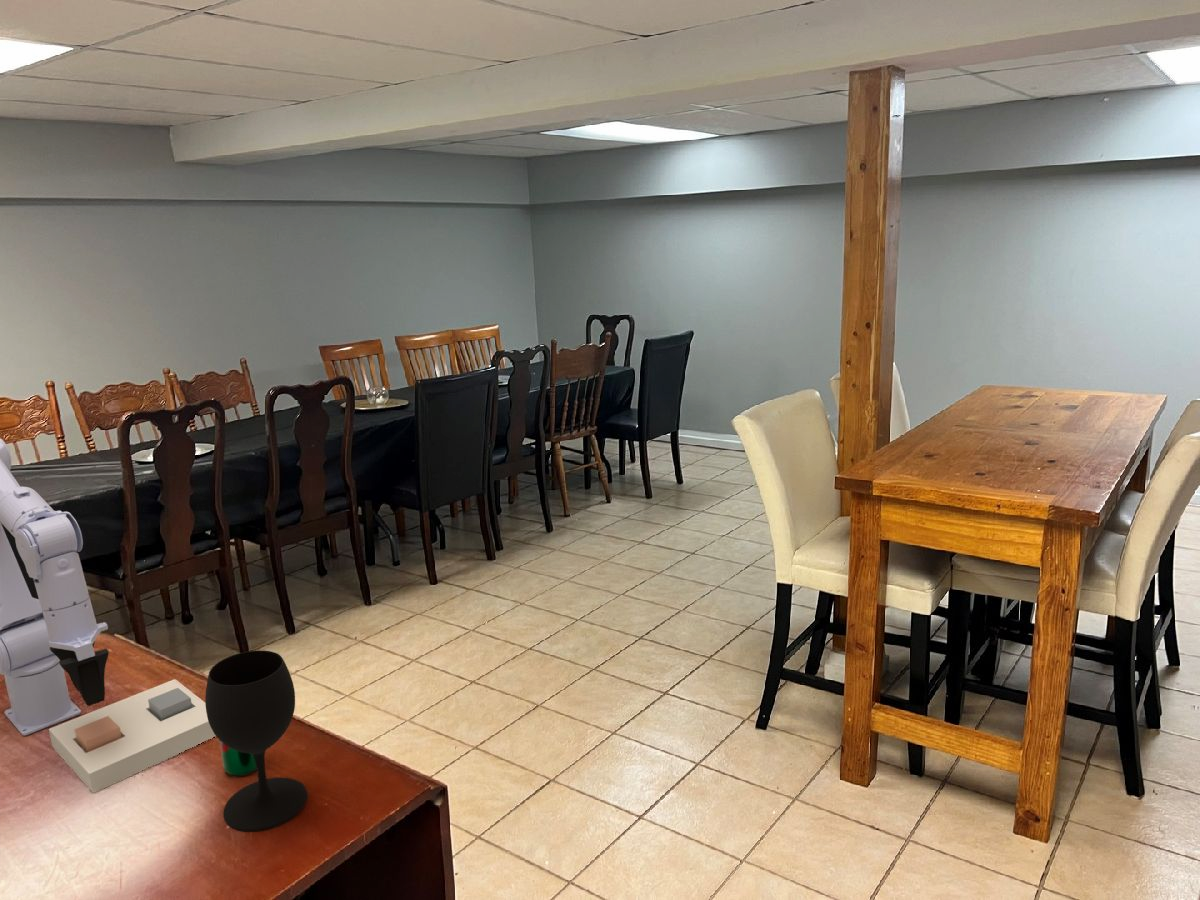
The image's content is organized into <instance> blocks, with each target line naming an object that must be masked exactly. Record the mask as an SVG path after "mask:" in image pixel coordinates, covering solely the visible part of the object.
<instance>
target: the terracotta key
mask: <svg viewBox="0 0 1200 900" xmlns="http://www.w3.org/2000/svg"><path fill="white" fill-rule="evenodd" d="M75 734H76V738H77V742H78V743H79V744H80V745H81V746H82V747H83V748H84V750H85V751H86V752H90V751H92V750H95V749H97V748H99V747H102V746H104V745H106V744H109V743H111V742H113V741H116V740H118V739H120V738H122V736H121V731H120V727H119V726H118V725H117V724H116V723H115V722H114V721H113V720H112V719H111V718H110V717H109V716H107V717H104V718H102V719H99V720H97V721H94V722H92V723H89V724H87V725H84V726H82V727H79V728H77V729H75Z"/></svg>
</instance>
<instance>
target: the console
mask: <svg viewBox="0 0 1200 900" xmlns="http://www.w3.org/2000/svg"><path fill="white" fill-rule="evenodd" d="M176 688H179V689H180V690H181V691H183V692H184V693H185V694H186V695H188V696H189V697H190V698H191V704H192V708H191V709H189V710H186V711H184V712H182V713H179V714H177V715H175V716H172V717H170V718H167V719H165V720H163V721H160V720H159V719H158V718H157V717H156V716H155V715H153V714H152V713H151V712H150V708H149V702H148V700H149V699H151V698H154V697H156V696H159V695H161V694H164V693H166V692H169V691H171V690H173V689H176ZM107 716H109V717H110V718H111V719H112V720H113V721H114V722H115V723H116V724H117V725H118V726H119V727H120V731H121V736H122V738H120V739H118V740H116V741H113V742H111V743H109V744H106V745H104V746H102V747H99V748H97V749H95V750H92V751H90V752H86V751H85V750H84V748H83V747H82V746H81V745H80V744H79V743H78V742H77V738H76V734H75V729H77V728H79V727H82V726H84V725H87V724H89V723H92V722H94V721H97V720H99V719H102V718H104V717H107ZM48 732H49V733H48V734H49V737H50V741H51V747H52V749H54V751H55V752H56V753H57V754H58V755H59V756H60V757H61V759H62V760H63V759H64V760H65V761H64V762H65V763H66V764H67V765H68V766H69V767H71V768H70V769H71V770H72V769H73V770H72V771H73V772H74V773H75V775H76V776H77V777H78V778H79V779H80V780H81V781H82V782H83V784H84V785H85V786H86V787H87V788H88V790H89V791H90V792H91V793H92V794H94V793H98V792H99V791H101V790H103V789H106V788H107V787H110V786H113V785H115V784H117V783H119V782H121V781H123V780H125V779H127V778H130V777H132V776H134V775H136V774H139V773H140V772H142V770H143V771H145V770H148V769H149V768H148V767H150V768H152V767H154V766H156V765H158V764H160V763H163V762H165V761H167V760H169V759H171V758H173V756H174V757H176V756H178V755H180V754H182V753H185V752H186V751H185V750H187V749H189V748H191V749H193V748H195V747H197V746H196V745H198V744H200V745H201V743H202V742H204V741H206V740H208V739H211V738H213V737H214V736H216V735H215V734H214V732H213V730H212V729H211V727H210V724H209V721H208V718H207V713H206V704H205V701H204V700H202V699H201V698H200V697H199V696H197V694H195V693H194V692H192V691H191V690H190V689H188V688H187V687H186V686H184V684H182V683H181V682H179V680H177V679H176V678H174V679H172V680H170V681H167V682H164V683H161V684H159V685H156V686H154V687H151V688H149V689H146V690H143V691H141V692H138V693H137V694H134V695H132V696H129V697H128V696H127V697H126V698H124V699H121V700H118V701H116V702H114V703H111V704H109V705H106V706H103V707H101V708H98V709H96V710H93V711H91V712H88V713H86V714H83V715H81V716H78V717H75V718H73V719H71V720H68V721H65V722H63V723H60V724H57V725H55V726H51V728H49V729H48ZM213 739H214V738H213ZM211 740H212V739H211ZM206 742H207V741H206ZM204 743H205V742H204ZM202 744H203V743H202ZM194 746H195V747H194ZM198 746H199V745H198ZM192 747H193V748H192ZM189 750H190V749H189ZM184 751H185V752H184ZM187 751H188V750H187ZM181 752H182V753H181ZM179 753H180V754H179ZM168 758H169V759H168ZM162 761H163V762H162ZM153 765H154V766H153ZM138 772H139V773H138Z"/></svg>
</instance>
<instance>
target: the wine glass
mask: <svg viewBox="0 0 1200 900" xmlns="http://www.w3.org/2000/svg"><path fill="white" fill-rule="evenodd" d="M206 681H207V682H206V687H205V698H204V699H205V701H204V702H205V704H206V713H207V718H208V721H209V724H210V727H211V729H212V730H213V732H214V734H215V735H216V737H215V738H217V739H218V740H220V741H221V742H222V743H224V744H225V745H226V746H228V747H230V748H232V749H234V750H237V751H240V752H243V753H249V754H252V755H253V757H254V760H255V764H256V768H257V769H256V772H257V779H258V780H257V781H255V782H252V783H250V784H248V785H245V786H244V787H242V788H241V789H239V790H238V791H236V792H235V793H234V794H233V795H232V796H231V797H230V798H228V800H227V801H226V804H225V805H224V807H223V812H222V813H223V814H222V815H223V820H224V822H225V824H226V825H228V826H229V827H230V828H232V830H236V831H240V832H241V831H242V832H248V833H249V832H250V833H253V832H261V831H267V830H270V829H274V828H276V827H279V826H282V825H283V824H285V823H287V822H289V821H290V820H292V819H293V818H294V817H296V816H297V815H298V814H299V813H300V812H301V811H302V810H303V808H304V807H305V805H306V803H307V801H308V790H307V788H306V786H305V785H304V784H303V783H302V782H301V781H299V780H297V779H294V778H291V777H283V776H281V777H279V776H278V777H270V778H267V772H266V764H265V758H266V757H265V755H266V751H267V750H268V749H270V748H271V747H272V746H273V745H275V744H276V743H277V742H278V741H280V739H281V737H283V735H284V734H285V733H286V732H287V729H288V728H289V726H290V724H291V722H292V720H293V717H294V714H295V709H296V692H295V691H296V690H295V687H294V683H293V678H292V675H291V673H290V670H289V668H288V666H287V663H286V662H285V660H284V658H283V657H282V655H280V654H279V653H277V652H274V651H272V650H271V651H270V650H261V649H260V650H258V649H257V650H249V651H243V652H239V653H236V654H233V655H230V656H227V657H226V658H224V659H222V660H219V661H218V662H217V663H216V664H214V665H213V666H212V667H211V668H210V670H209V672H208V677H207V680H206ZM220 741H219V742H220Z"/></svg>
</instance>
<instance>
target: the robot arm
mask: <svg viewBox="0 0 1200 900" xmlns="http://www.w3.org/2000/svg"><path fill="white" fill-rule="evenodd" d="M9 450H10V449H9V447H8V445H7V443H6V442H5V441H4V440H3V439H2V438H1V437H0V675H2V676H4V682H5V686H6V690H7V695H8V699H9V702H10V703H9V704H10V708H8V709H5V711H4V712H3V713H4V715H5V716H6V718H7V719H8V720H9V721H10V722H11V723H12V724H13V725H14V727H15V729H16V730H17V731H18V732H19V733H20V734H21V735H22V736H28V735H30V734H33V733H35V732H38V731H41V730H43V729H47V728H48V727H52V726H53V725H56V724H59V723H61V722H63V721H66V720H68V719H71V718H74V717H76V716H79V715H81V713H82V710H81V709H80V708H79V707H78V706H77V705H76V704H75V702H73V701H72V700H71V698H70V693H69V689H68V684H67V680H66V674H65V672H66V673H67V674H68V676H69V679H70V680H71V682H72V685H73V686H74V688H75V689H76V690H77V692H79V694H80V696H81V697H82V700H83V701H84V702H85V704H86V706H87V707H90V706H93V705H95V704H98V703H101V702H104V701H105V700H106V699H105V698H106V697H105V696H106V687H105V685H106V682H105V671H106V665H107V661H108V659H109V655H110V654H109V653H110V652H109V650H108V648H103V649H101V650H100V649H99V650H96V651H95V649H94V647H95V643H96V639H97V638H98V637H99V634H101V632H105V631H107V630H108V629H109V625H108V624H107V622H99V623H98V622H97V620H96V616H95V613H94V608H93V605H92V602H91V601H92V600H91V597H90V594H89V589H88V586H87V582H86V578H85V574H84V571H83V566H82V563H81V559H80V555H79V552H81V551H82V549H83V545H84V540H83V534H82V531H81V528H80V525H79V524H78V522H77V520H76V519H75V517H74V516H73V514H71V512H69V511H61V510H54V509H53V508H52V507H51V506H50V505H49V504H48V502H47V501H46V500H45V499H44V498H43V496H41V495H40V494H39V493H38V492H37V491H36V490H35V489H33V488H31V487H28V486H20V484H19V482H18V481H17V480H16V478H15V476H14V475H13V474H12V473H11V468H12V457H11V454H10V451H9ZM4 528H5V529H6V530H7V531H8V532H9V533H10V534H11V535H12V536H13V537H14V541H15V545H16V546H15V547H16V549H17V552H18V555H19V556H20V558H21V560H22V562H23V564H24V566H25V570H26V573H27V574H28V577H29V578H31V579H32V580H33V583H34V587H35V590H36V594H37V597H38V598H36V597H33V596H32V594H31V592H30V589H29V587H28V584H27V582H26V580H25V578H24V575H23V572H22V570H21V567H20V565H19V562H18V560H17V558H16V556H15V553H14V551H13V549H12V546H11V544H10V541H9V539H8V536H7V535H6V531H5V529H4ZM31 620H32V621H31ZM10 627H11V628H10ZM4 629H6V630H4Z"/></svg>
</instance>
